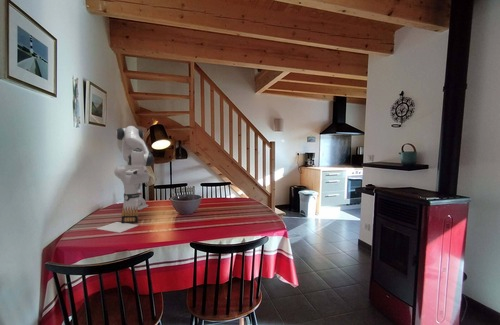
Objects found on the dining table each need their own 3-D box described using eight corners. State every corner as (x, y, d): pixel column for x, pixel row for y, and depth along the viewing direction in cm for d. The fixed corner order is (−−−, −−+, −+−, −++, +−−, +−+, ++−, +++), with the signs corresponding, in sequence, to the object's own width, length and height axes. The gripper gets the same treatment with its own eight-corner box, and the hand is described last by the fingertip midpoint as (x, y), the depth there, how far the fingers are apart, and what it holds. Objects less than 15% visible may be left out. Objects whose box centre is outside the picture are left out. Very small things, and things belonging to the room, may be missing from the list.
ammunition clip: (121, 223, 169) (121, 206, 169) (121, 222, 171) (122, 205, 171) (137, 222, 172) (138, 206, 172) (138, 222, 174) (138, 205, 174)
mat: (116, 222, 173) (116, 221, 173) (138, 225, 167) (138, 225, 167) (96, 229, 158) (96, 228, 158) (119, 232, 151) (119, 232, 151)
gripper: (144, 169, 188) (144, 187, 189) (123, 172, 169) (123, 191, 169) (151, 170, 186) (151, 187, 187) (130, 172, 167) (130, 192, 167)
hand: (138, 189), depth 178 cm, fingers closed
